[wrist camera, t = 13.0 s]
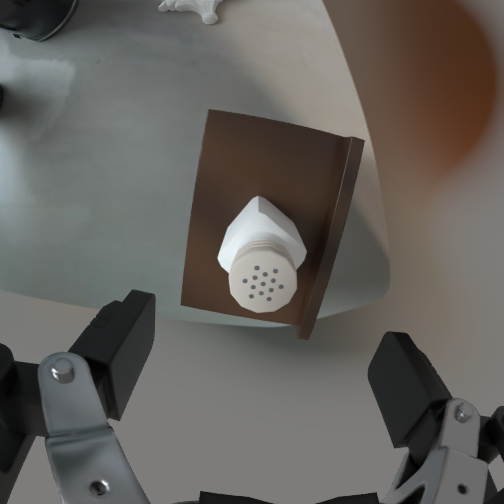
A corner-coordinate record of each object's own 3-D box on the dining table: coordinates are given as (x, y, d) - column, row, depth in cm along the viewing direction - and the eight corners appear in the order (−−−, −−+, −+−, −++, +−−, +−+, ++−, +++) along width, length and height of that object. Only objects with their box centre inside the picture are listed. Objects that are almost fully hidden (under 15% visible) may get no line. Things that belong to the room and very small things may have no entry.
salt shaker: (257, 190, 22) (258, 223, 13) (298, 225, 23) (324, 278, 14) (223, 231, 23) (202, 288, 14) (263, 263, 24) (267, 334, 15)
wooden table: (223, 120, 29) (203, 105, 18) (326, 141, 30) (365, 140, 18) (200, 261, 35) (174, 317, 23) (293, 278, 35) (308, 340, 24)
